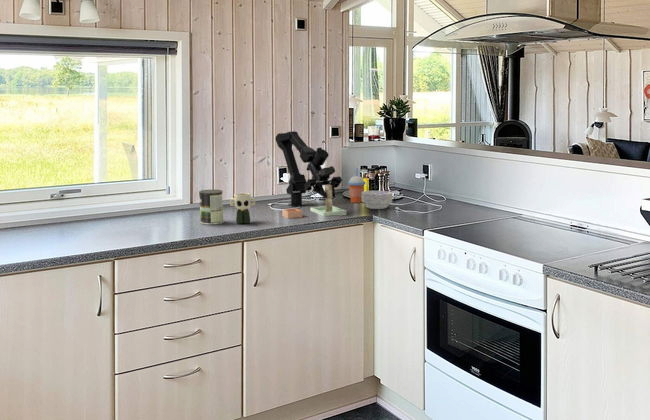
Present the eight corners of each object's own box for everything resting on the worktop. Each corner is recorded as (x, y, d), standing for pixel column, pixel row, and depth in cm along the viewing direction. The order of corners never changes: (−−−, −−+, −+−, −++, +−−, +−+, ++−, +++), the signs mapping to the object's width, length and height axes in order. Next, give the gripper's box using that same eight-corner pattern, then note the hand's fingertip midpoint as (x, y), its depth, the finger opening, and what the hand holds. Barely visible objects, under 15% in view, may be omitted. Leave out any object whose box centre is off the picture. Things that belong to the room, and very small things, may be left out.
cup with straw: (365, 200, 335) (365, 166, 332) (365, 203, 326) (365, 168, 323) (348, 200, 336) (348, 166, 333) (347, 203, 327) (347, 168, 324)
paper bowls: (392, 205, 321) (392, 189, 319) (392, 210, 306) (392, 194, 304) (362, 205, 322) (362, 189, 320) (361, 210, 307) (361, 194, 306)
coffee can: (199, 225, 276) (197, 193, 273) (201, 220, 286) (200, 189, 283) (222, 224, 277) (221, 192, 274) (224, 219, 287) (223, 189, 284)
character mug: (230, 225, 275) (229, 195, 272) (230, 222, 282) (229, 193, 279) (256, 224, 276) (255, 194, 274) (255, 221, 283) (254, 192, 281)
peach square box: (282, 217, 292) (282, 209, 291) (296, 215, 295) (296, 208, 294) (287, 219, 286) (287, 212, 285) (302, 218, 289) (302, 210, 288)
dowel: (324, 212, 298) (323, 185, 296) (327, 211, 301) (327, 184, 299) (330, 213, 297) (329, 185, 295) (333, 212, 299) (333, 184, 297)
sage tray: (310, 211, 304) (310, 207, 304) (332, 209, 309) (332, 205, 309) (323, 217, 290) (323, 212, 290) (346, 215, 295) (346, 210, 295)
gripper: (307, 162, 292) (320, 188, 285) (339, 159, 303) (353, 184, 296) (298, 177, 300) (311, 203, 293) (330, 174, 311) (343, 199, 304)
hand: (330, 197), depth 296 cm, fingers open, 4 cm apart
